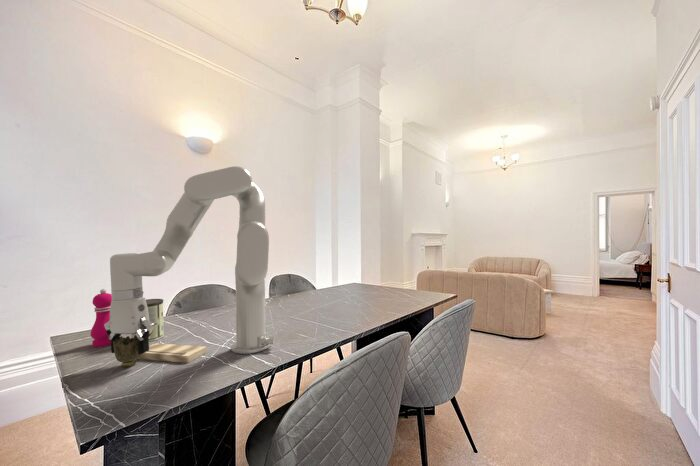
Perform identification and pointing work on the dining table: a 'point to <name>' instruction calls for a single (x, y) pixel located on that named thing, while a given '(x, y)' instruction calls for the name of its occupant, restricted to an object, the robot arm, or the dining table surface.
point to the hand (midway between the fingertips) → (130, 351)
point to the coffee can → (155, 318)
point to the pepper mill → (101, 319)
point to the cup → (126, 350)
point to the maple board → (173, 352)
